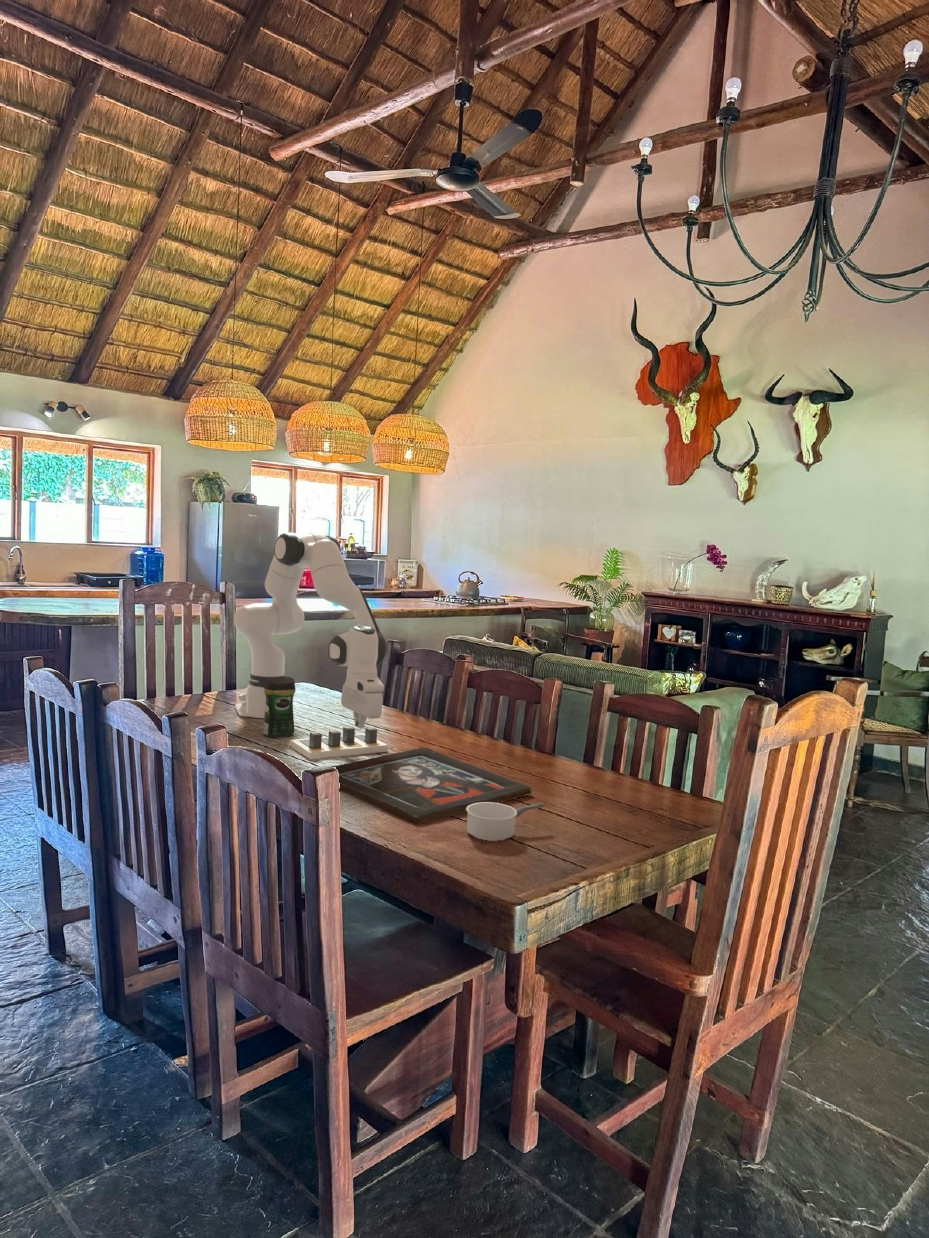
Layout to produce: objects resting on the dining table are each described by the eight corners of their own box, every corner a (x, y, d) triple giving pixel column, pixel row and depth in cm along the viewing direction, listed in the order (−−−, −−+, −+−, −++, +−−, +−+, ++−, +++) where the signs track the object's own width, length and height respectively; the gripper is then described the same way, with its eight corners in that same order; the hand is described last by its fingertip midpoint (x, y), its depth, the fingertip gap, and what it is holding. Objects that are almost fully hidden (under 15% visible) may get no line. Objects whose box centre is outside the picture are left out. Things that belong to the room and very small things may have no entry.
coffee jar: (289, 730, 262) (291, 674, 260) (296, 736, 255) (299, 678, 254) (259, 732, 257) (261, 675, 256) (266, 738, 251) (268, 679, 249)
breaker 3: (342, 739, 246) (343, 726, 246) (350, 739, 248) (350, 725, 247) (346, 742, 244) (347, 728, 243) (354, 741, 245) (355, 728, 245)
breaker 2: (328, 744, 240) (328, 730, 240) (335, 743, 242) (336, 729, 241) (332, 746, 238) (333, 732, 237) (340, 745, 239) (340, 731, 239)
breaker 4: (364, 740, 247) (365, 727, 247) (372, 740, 248) (372, 726, 248) (369, 743, 244) (369, 729, 244) (376, 742, 246) (377, 728, 245)
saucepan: (556, 835, 184) (558, 811, 183) (481, 847, 174) (483, 822, 173) (527, 818, 194) (529, 795, 193) (455, 829, 183) (456, 805, 183)
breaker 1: (309, 745, 237) (309, 731, 237) (317, 745, 238) (317, 731, 238) (313, 748, 235) (313, 734, 234) (321, 747, 236) (321, 733, 236)
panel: (290, 746, 244) (290, 739, 243) (365, 739, 257) (365, 732, 257) (309, 759, 231) (309, 751, 231) (387, 751, 245) (387, 744, 245)
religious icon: (420, 754, 244) (420, 744, 243) (533, 796, 212) (534, 785, 212) (306, 777, 216) (307, 766, 215) (418, 830, 184) (418, 817, 184)
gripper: (337, 675, 245) (335, 720, 246) (367, 687, 228) (365, 735, 229) (356, 675, 249) (354, 719, 250) (387, 686, 232) (384, 734, 233)
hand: (359, 727), depth 239 cm, fingers closed
